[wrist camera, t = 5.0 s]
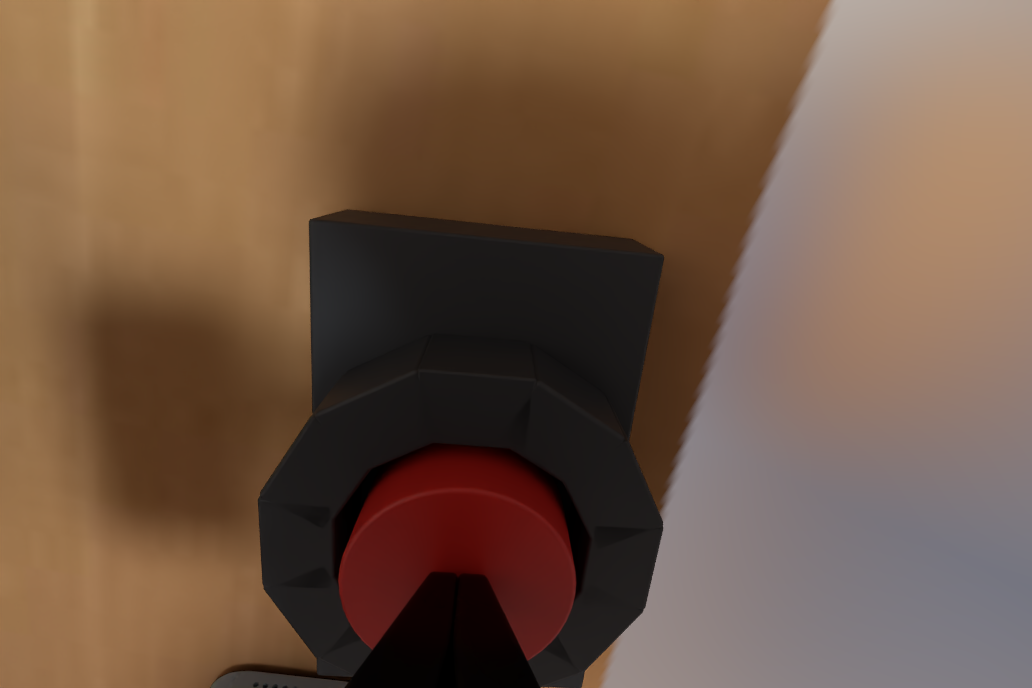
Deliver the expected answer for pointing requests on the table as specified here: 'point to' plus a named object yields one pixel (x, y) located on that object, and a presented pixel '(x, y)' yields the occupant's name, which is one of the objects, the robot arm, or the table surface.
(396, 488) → the button
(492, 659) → the robot arm
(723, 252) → the table surface
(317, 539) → the switch block
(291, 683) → the smartphone
